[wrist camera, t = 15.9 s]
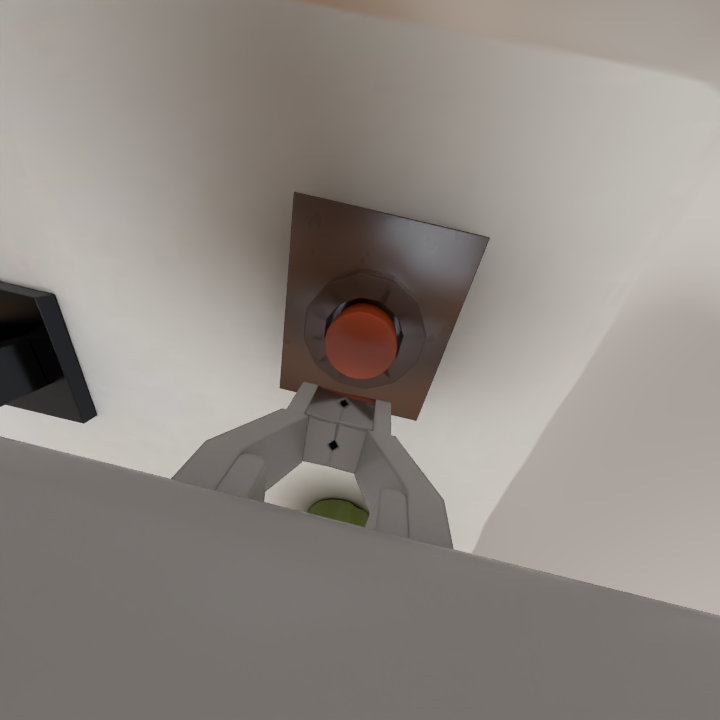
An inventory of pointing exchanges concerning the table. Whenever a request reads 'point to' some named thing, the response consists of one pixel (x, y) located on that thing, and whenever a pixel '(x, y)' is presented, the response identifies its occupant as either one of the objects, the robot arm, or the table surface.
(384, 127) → the table surface
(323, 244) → the button block
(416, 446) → the table surface
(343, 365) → the button
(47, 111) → the table surface
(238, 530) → the robot arm
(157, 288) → the table surface
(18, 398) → the bracket
